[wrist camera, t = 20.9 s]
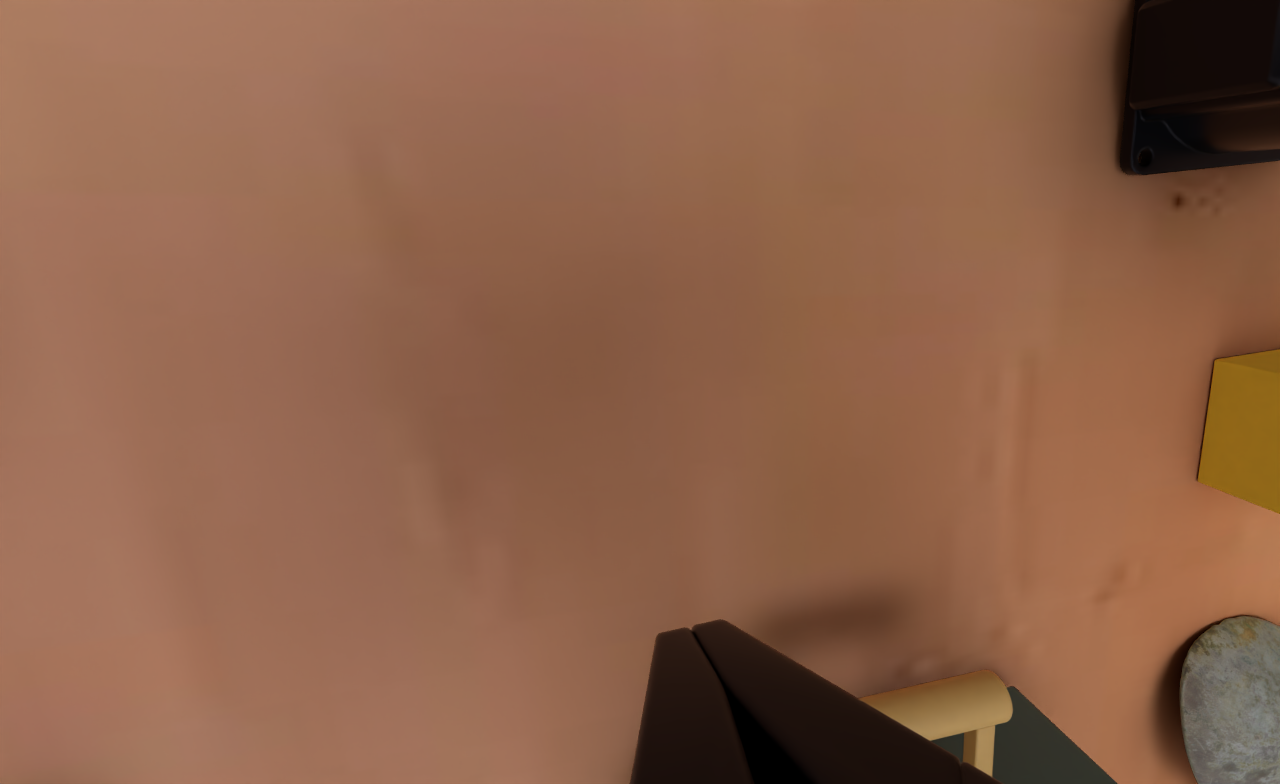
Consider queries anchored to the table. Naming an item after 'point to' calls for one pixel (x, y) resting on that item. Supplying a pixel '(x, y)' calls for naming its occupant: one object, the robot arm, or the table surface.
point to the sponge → (1244, 429)
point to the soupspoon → (1233, 703)
